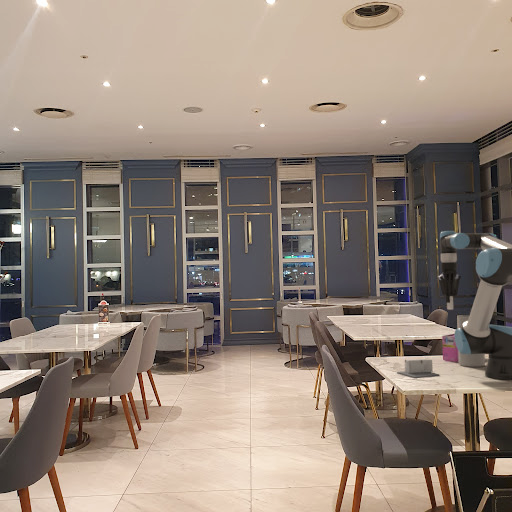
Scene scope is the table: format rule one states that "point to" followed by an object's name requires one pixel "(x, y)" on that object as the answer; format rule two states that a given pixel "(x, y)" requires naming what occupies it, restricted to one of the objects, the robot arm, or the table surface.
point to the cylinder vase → (467, 359)
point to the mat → (418, 374)
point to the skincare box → (418, 365)
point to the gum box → (449, 348)
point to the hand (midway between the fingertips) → (450, 309)
